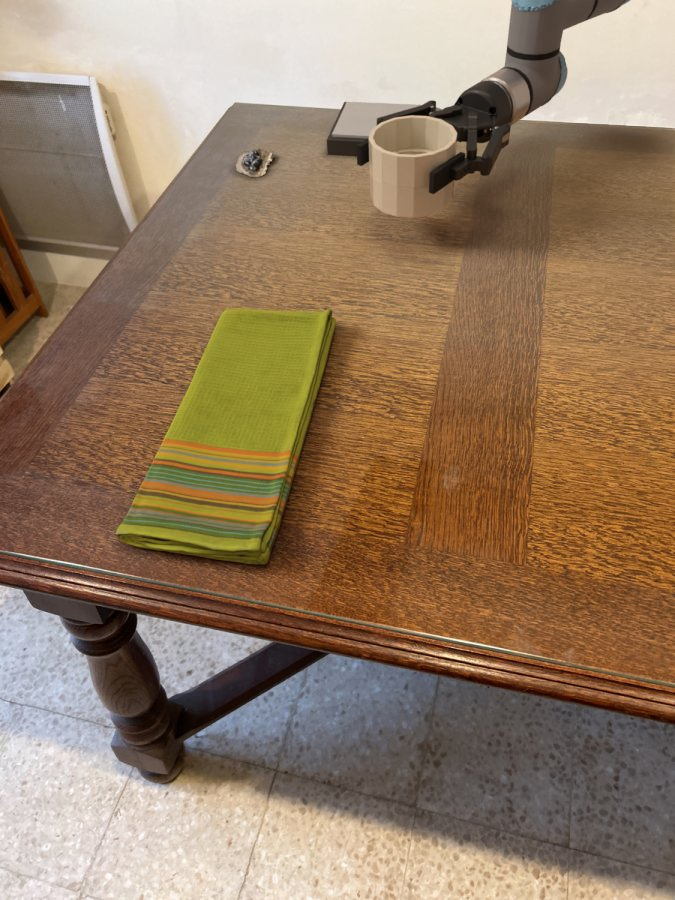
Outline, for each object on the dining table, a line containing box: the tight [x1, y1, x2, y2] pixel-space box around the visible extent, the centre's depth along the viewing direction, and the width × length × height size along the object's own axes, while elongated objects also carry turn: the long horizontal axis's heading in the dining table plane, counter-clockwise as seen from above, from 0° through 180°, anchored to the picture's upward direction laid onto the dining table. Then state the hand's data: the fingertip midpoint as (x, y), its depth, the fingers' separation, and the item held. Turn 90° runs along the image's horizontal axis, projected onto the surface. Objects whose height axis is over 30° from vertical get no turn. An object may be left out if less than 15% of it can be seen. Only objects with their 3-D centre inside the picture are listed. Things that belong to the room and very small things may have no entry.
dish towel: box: [115, 307, 337, 565], centre depth 78 cm, size 15×36×3 cm, turn 169°
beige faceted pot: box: [368, 115, 458, 219], centre depth 94 cm, size 11×11×9 cm
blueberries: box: [235, 148, 275, 179], centre depth 116 cm, size 7×8×2 cm
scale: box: [326, 101, 422, 157], centre depth 120 cm, size 16×14×3 cm
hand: (394, 169), depth 92 cm, fingers closed on beige faceted pot, 11 cm apart
